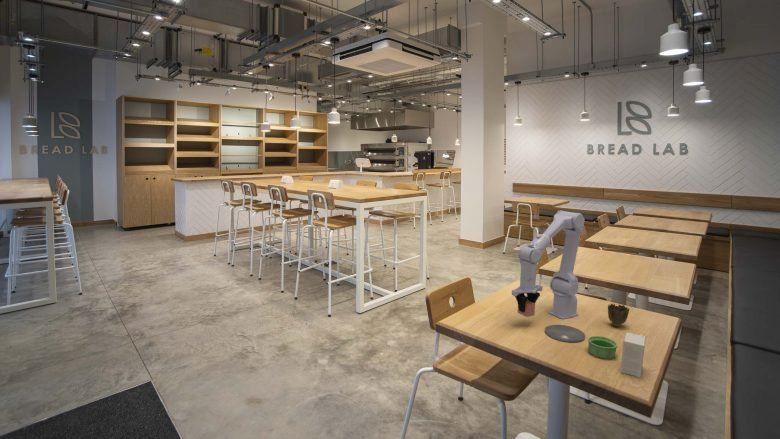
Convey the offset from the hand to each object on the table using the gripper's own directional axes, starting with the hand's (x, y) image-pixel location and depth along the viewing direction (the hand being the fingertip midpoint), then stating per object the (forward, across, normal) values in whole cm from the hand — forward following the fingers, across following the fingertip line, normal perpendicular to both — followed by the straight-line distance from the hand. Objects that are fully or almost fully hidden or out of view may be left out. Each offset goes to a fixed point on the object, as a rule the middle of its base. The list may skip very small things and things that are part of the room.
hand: (526, 310), depth 161 cm
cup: (+6, +32, -17) cm, 37 cm away
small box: (+6, +5, -40) cm, 41 cm away
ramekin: (+6, +6, -29) cm, 30 cm away
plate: (+6, +7, -13) cm, 16 cm away
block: (+1, 0, 0) cm, 1 cm away
